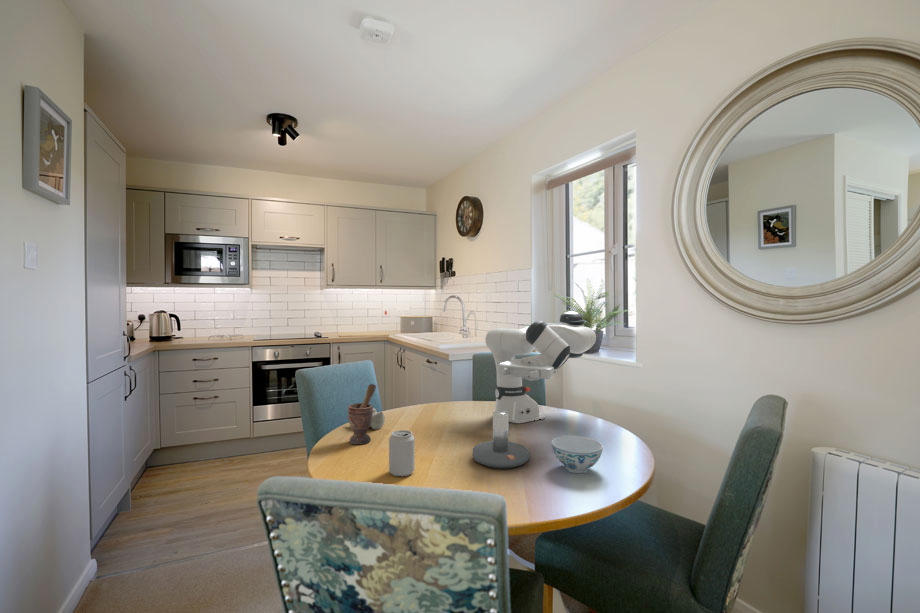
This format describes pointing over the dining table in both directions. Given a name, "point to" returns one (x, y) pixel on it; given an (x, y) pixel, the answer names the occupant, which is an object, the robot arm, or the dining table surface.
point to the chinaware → (577, 452)
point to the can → (401, 453)
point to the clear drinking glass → (500, 431)
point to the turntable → (500, 455)
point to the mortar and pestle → (361, 418)
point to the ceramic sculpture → (377, 419)
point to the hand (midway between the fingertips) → (516, 373)
